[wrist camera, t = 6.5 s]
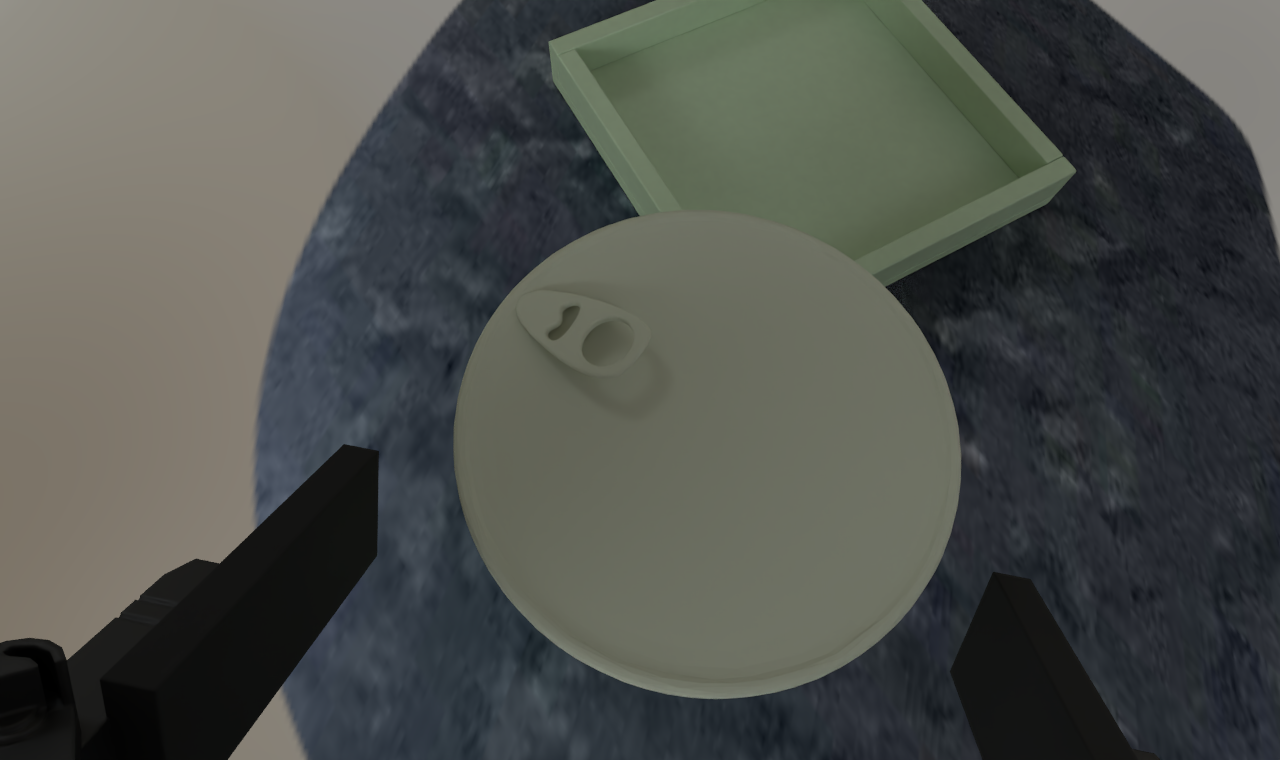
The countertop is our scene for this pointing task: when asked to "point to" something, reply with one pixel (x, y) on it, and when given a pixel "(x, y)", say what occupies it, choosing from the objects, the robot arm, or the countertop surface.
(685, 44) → the tray
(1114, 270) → the countertop surface
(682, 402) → the can
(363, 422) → the countertop surface
